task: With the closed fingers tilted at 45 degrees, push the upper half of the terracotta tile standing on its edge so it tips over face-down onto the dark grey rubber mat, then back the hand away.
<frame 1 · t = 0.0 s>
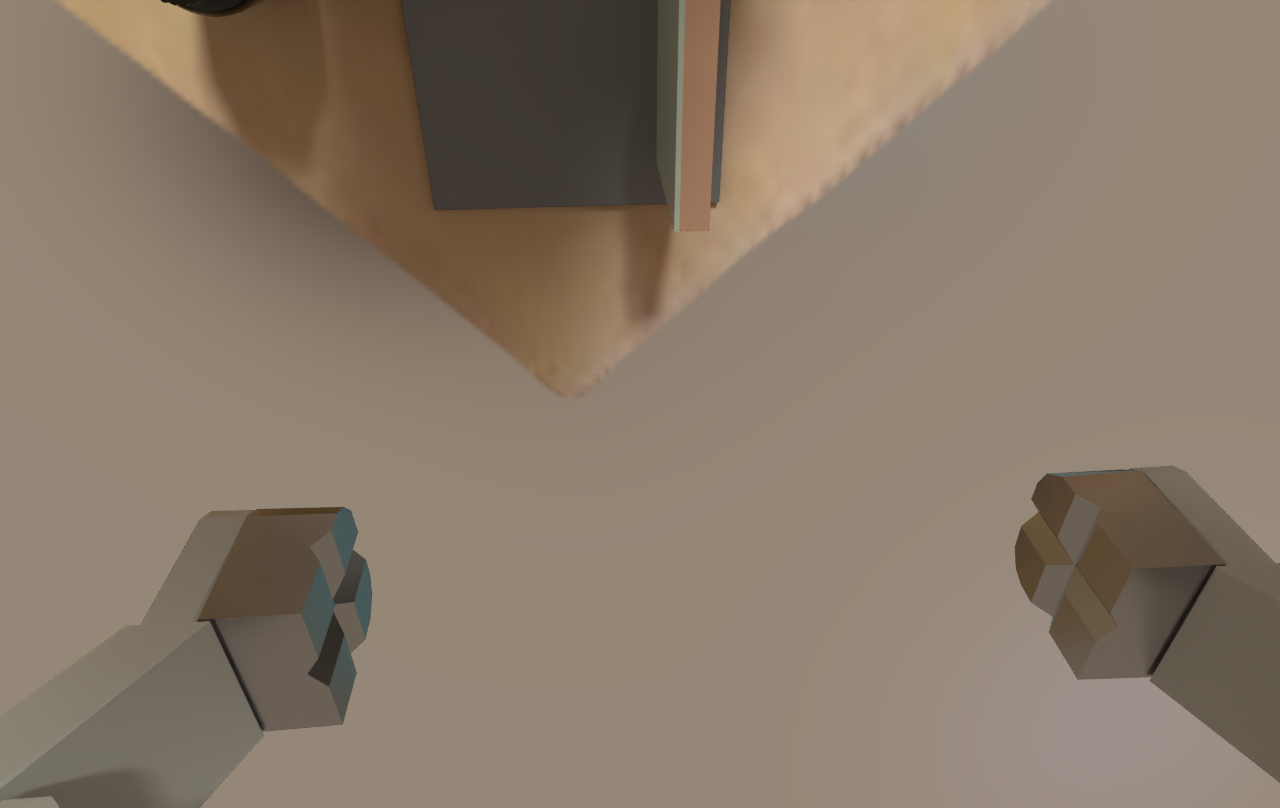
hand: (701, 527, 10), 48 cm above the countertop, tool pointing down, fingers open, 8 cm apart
tile: (672, 69, 52), point 1 cm above the countertop, touching mat
mat: (571, 68, 52), on the countertop
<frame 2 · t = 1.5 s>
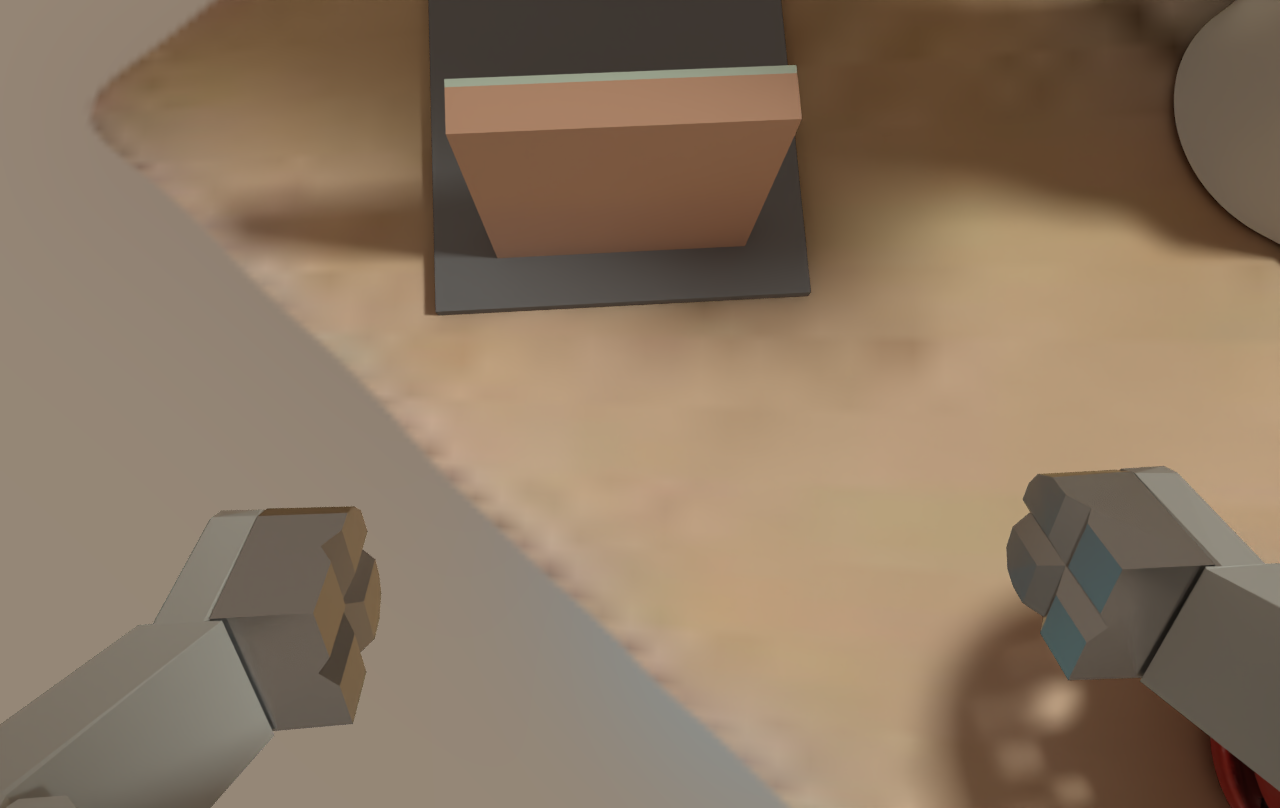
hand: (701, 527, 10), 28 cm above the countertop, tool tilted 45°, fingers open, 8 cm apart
tile: (620, 232, 39), point 1 cm above the countertop, touching mat
mat: (612, 115, 41), on the countertop
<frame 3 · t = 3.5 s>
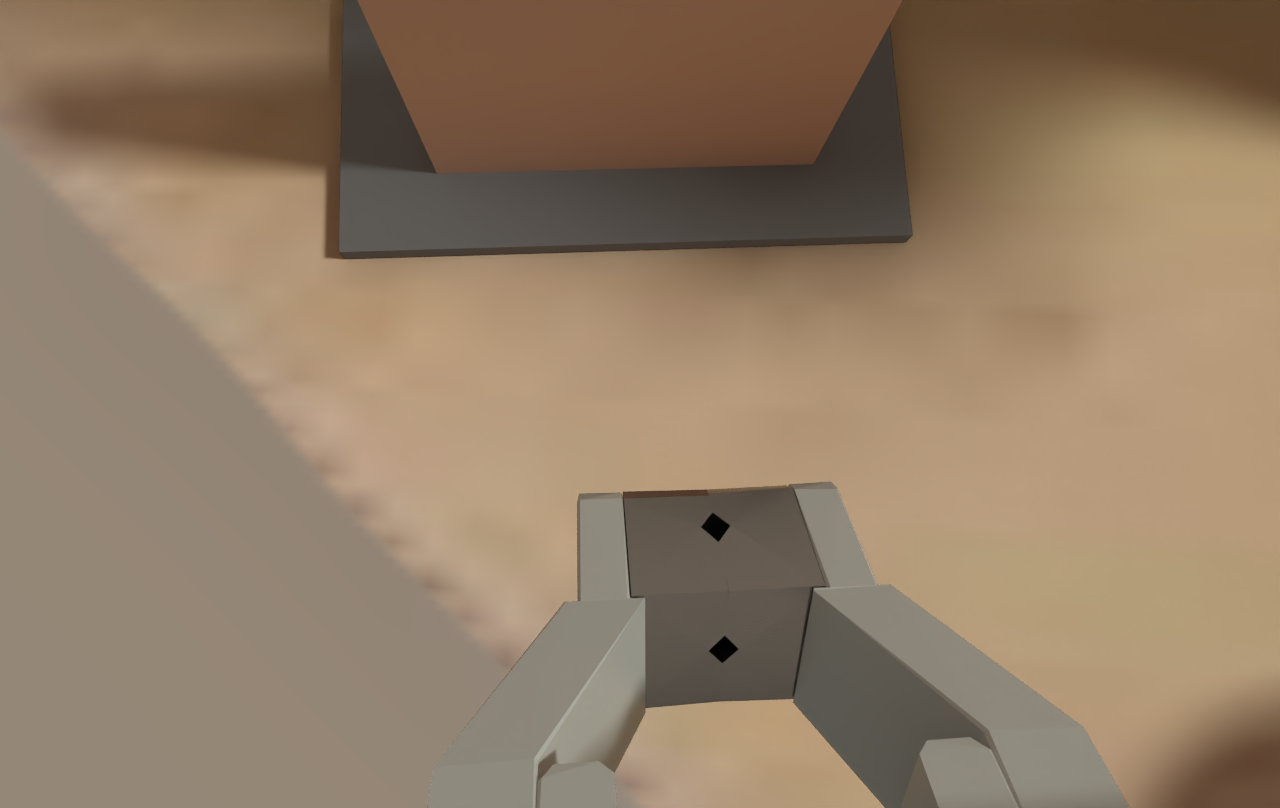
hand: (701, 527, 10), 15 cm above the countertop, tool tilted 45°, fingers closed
tile: (625, 139, 26), point 1 cm above the countertop, touching mat
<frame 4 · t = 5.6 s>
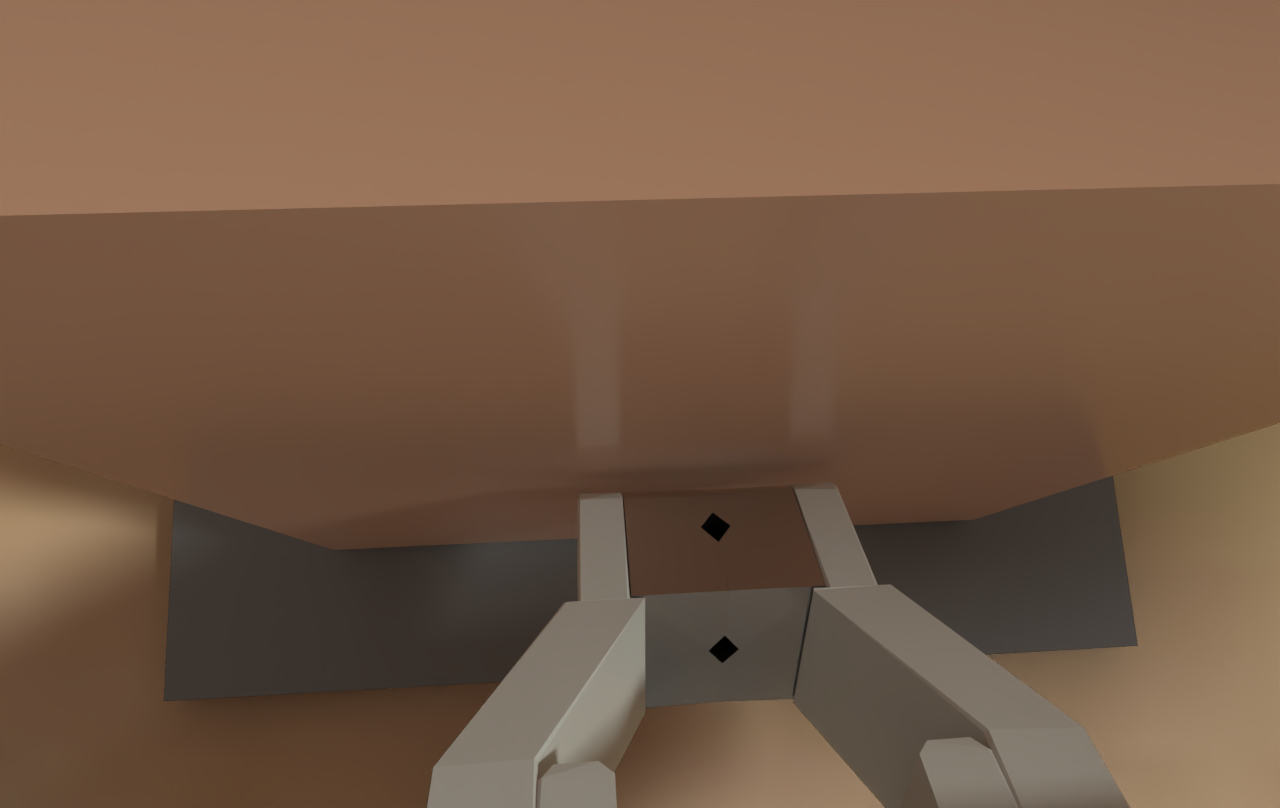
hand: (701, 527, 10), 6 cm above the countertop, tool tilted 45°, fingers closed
tile: (657, 481, 15), point 1 cm above the countertop, tilted 6°, touching mat
mat: (639, 179, 17), on the countertop
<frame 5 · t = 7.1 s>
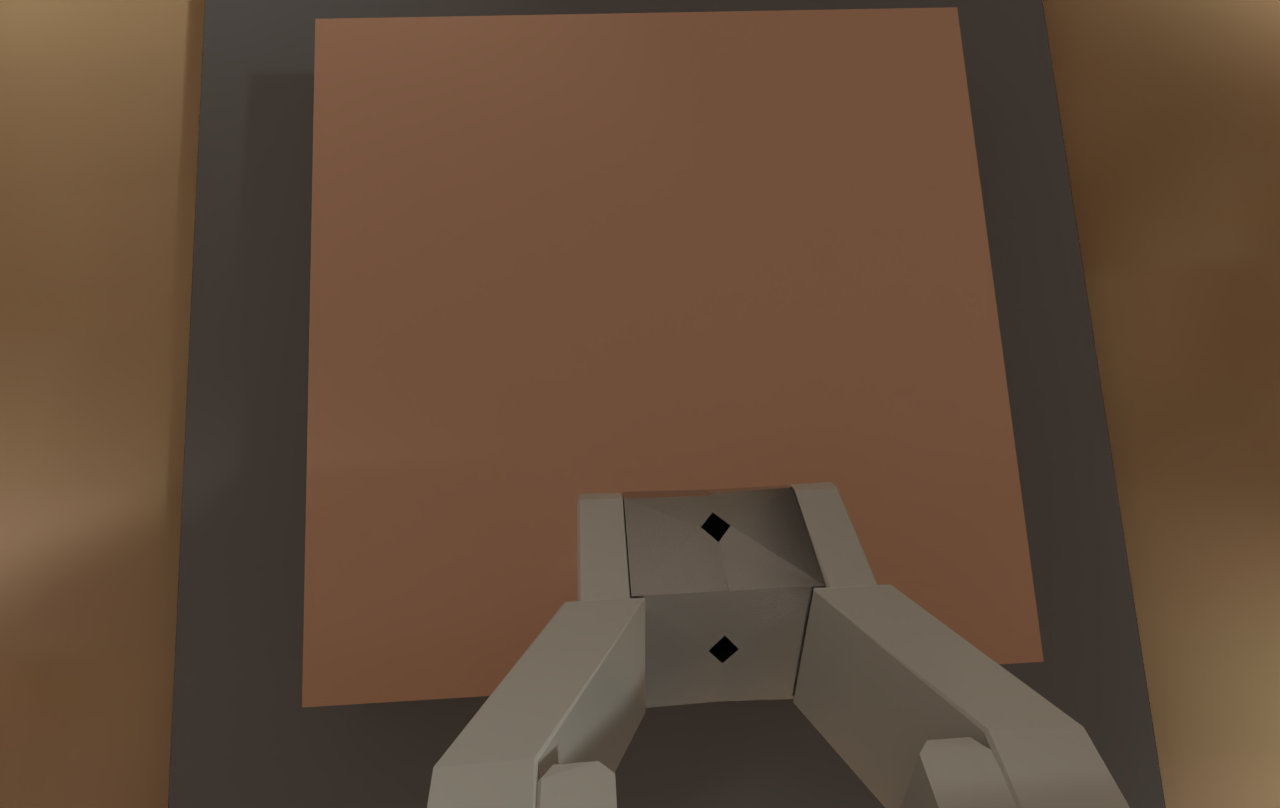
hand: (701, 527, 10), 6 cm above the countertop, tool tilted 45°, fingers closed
tile: (676, 674, 14), point 2 cm above the countertop, tilted 90°, touching mat
mat: (654, 392, 16), on the countertop
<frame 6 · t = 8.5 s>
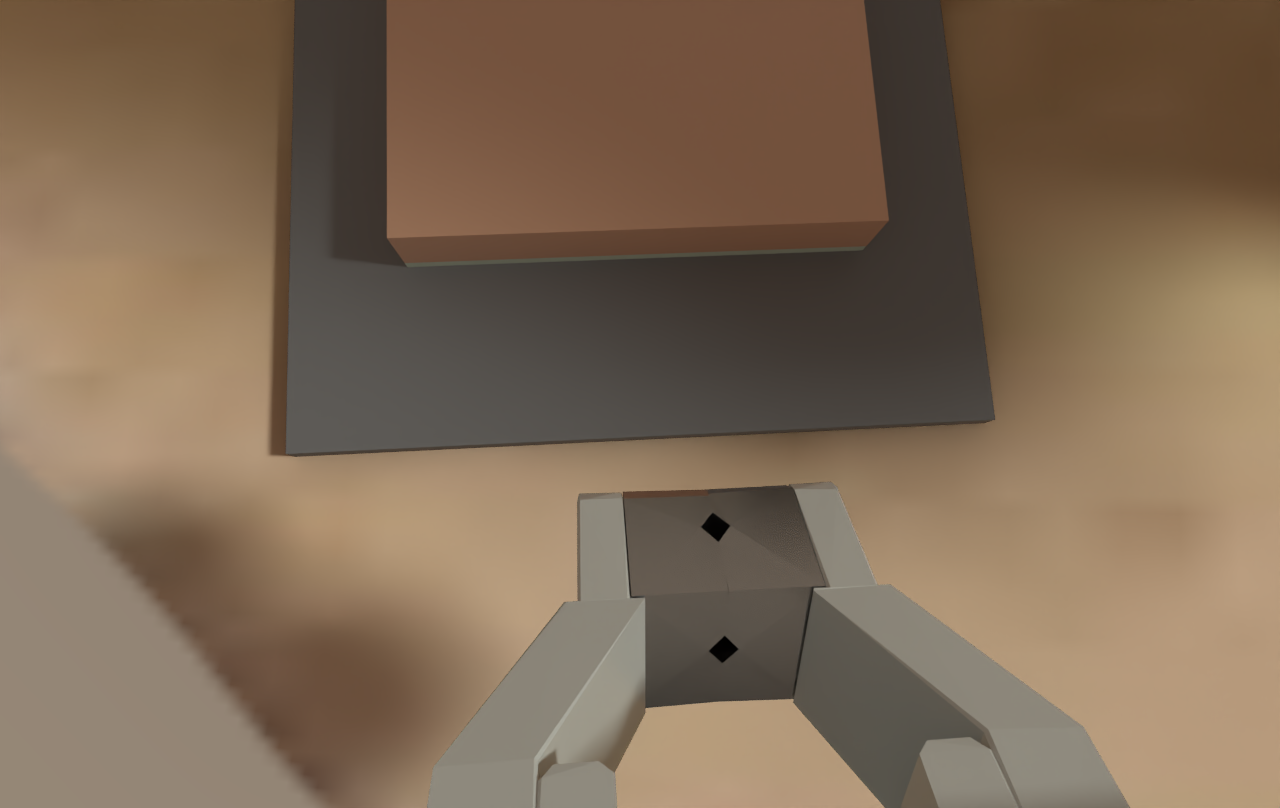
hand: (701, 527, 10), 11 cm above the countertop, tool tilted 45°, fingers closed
tile: (640, 244, 20), point 2 cm above the countertop, tilted 90°, touching mat
mat: (627, 87, 23), on the countertop
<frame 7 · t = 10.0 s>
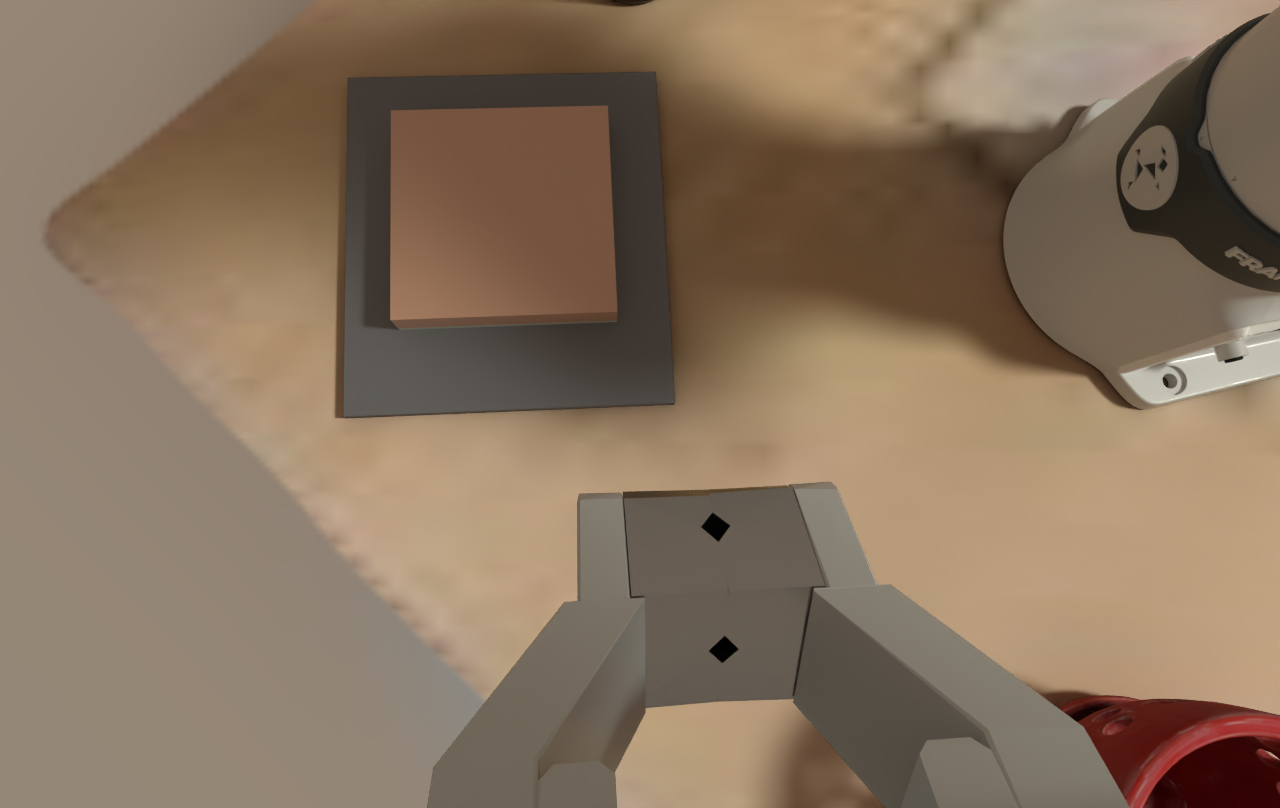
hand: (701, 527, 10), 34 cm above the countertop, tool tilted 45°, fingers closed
tile: (506, 321, 44), point 2 cm above the countertop, tilted 90°, touching mat
mat: (508, 239, 46), on the countertop
plant pot: (1092, 797, 42), on the countertop
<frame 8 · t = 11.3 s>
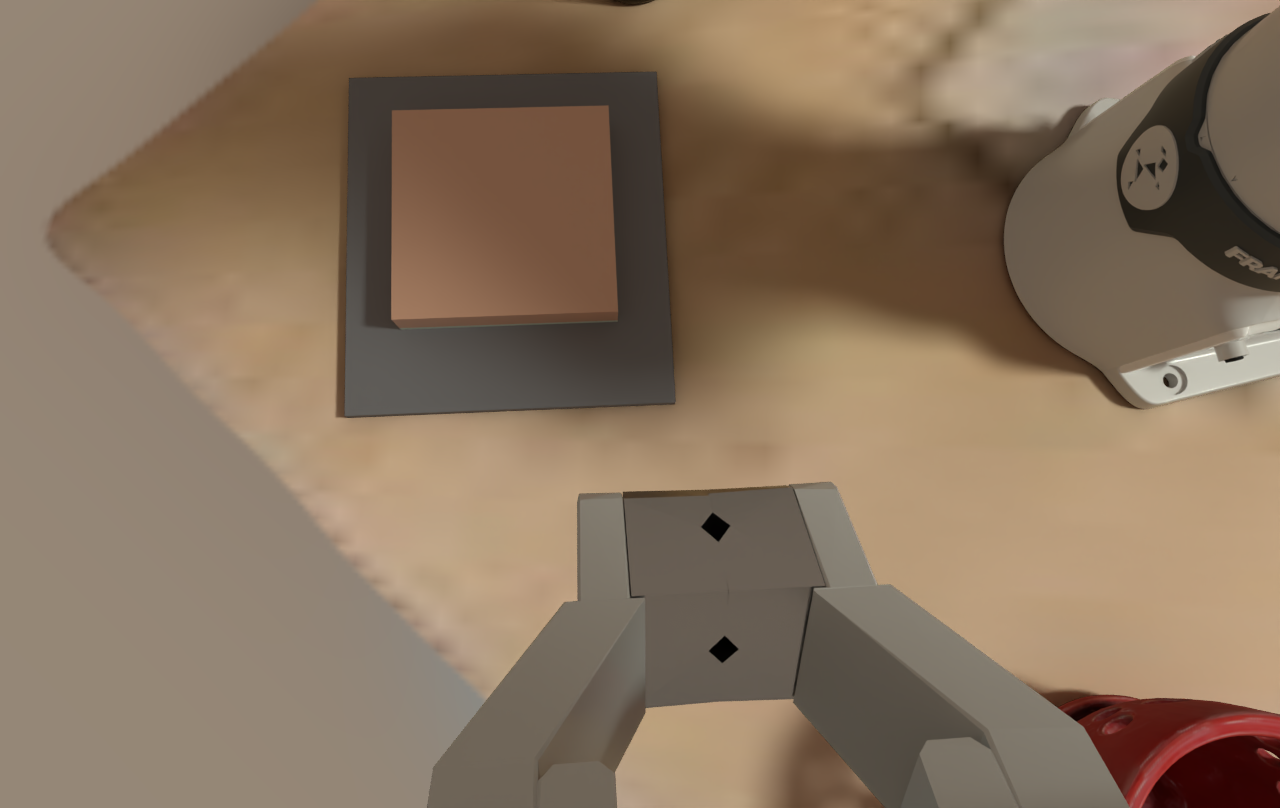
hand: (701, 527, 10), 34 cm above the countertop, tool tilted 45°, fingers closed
tile: (507, 320, 44), point 2 cm above the countertop, tilted 90°, touching mat
mat: (509, 239, 46), on the countertop
plant pot: (1092, 797, 42), on the countertop
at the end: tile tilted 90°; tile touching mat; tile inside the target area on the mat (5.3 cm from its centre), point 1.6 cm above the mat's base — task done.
